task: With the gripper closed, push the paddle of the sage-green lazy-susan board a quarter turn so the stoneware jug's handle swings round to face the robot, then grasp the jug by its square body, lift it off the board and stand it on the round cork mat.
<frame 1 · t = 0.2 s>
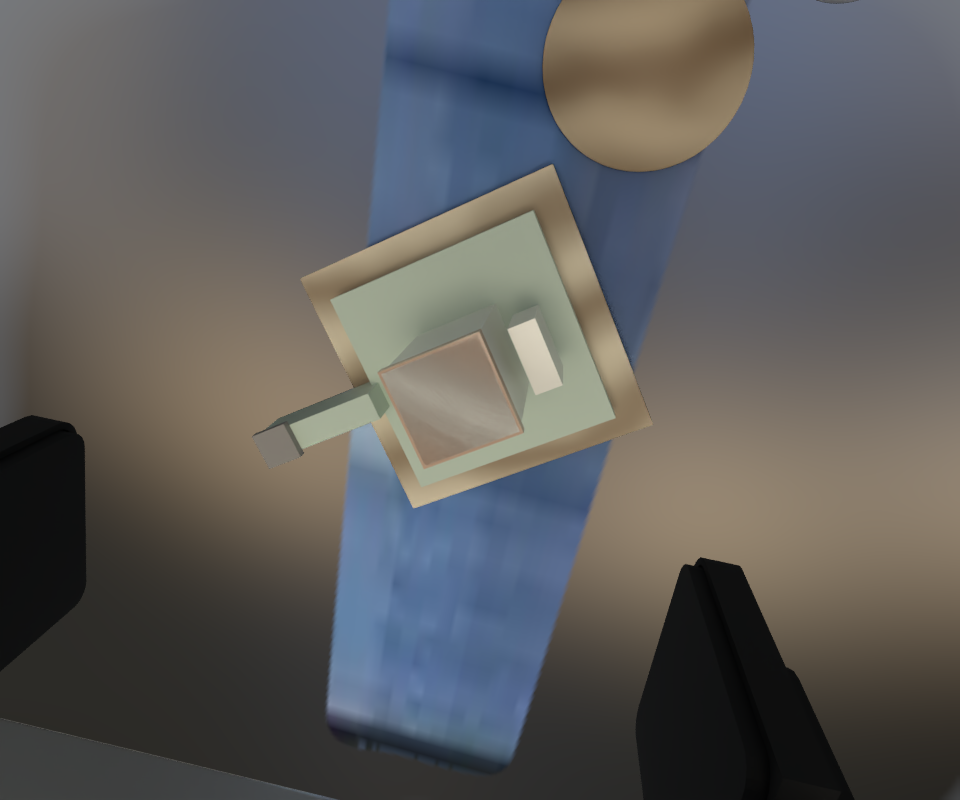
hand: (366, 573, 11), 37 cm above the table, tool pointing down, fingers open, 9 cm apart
turntable: (415, 384, 45), point 4 cm above the table, hinge at 0.0°, touching jug
jug: (473, 359, 45), point 3 cm above the table, touching turntable
mat: (645, 64, 41), on the table
stand: (479, 347, 48), on the table
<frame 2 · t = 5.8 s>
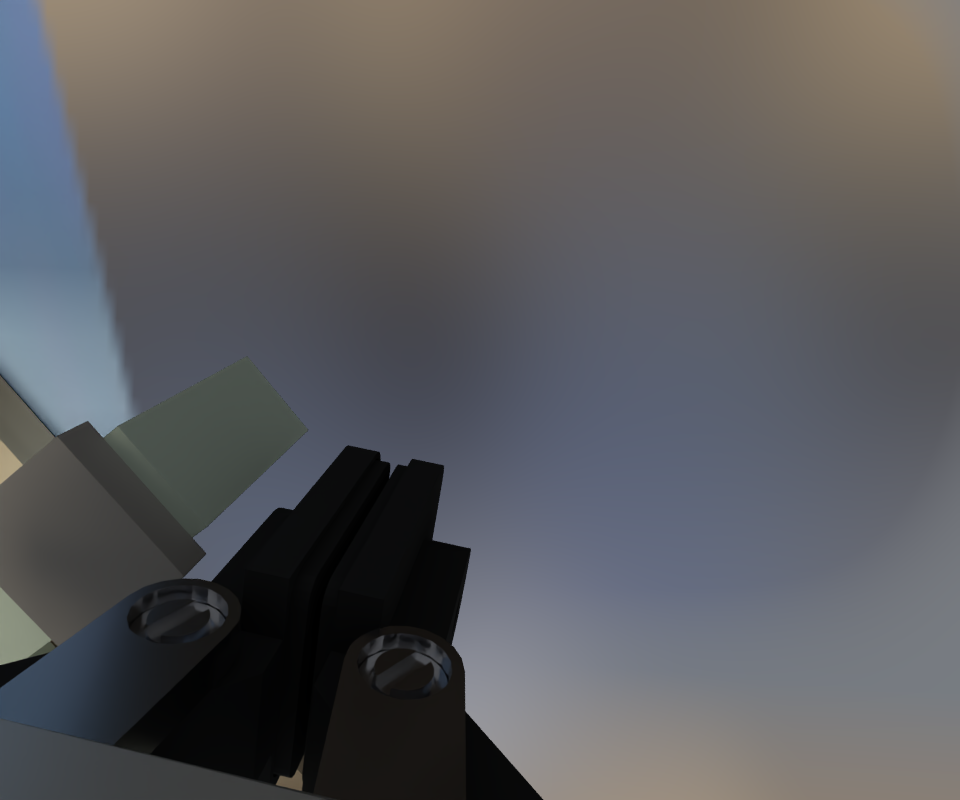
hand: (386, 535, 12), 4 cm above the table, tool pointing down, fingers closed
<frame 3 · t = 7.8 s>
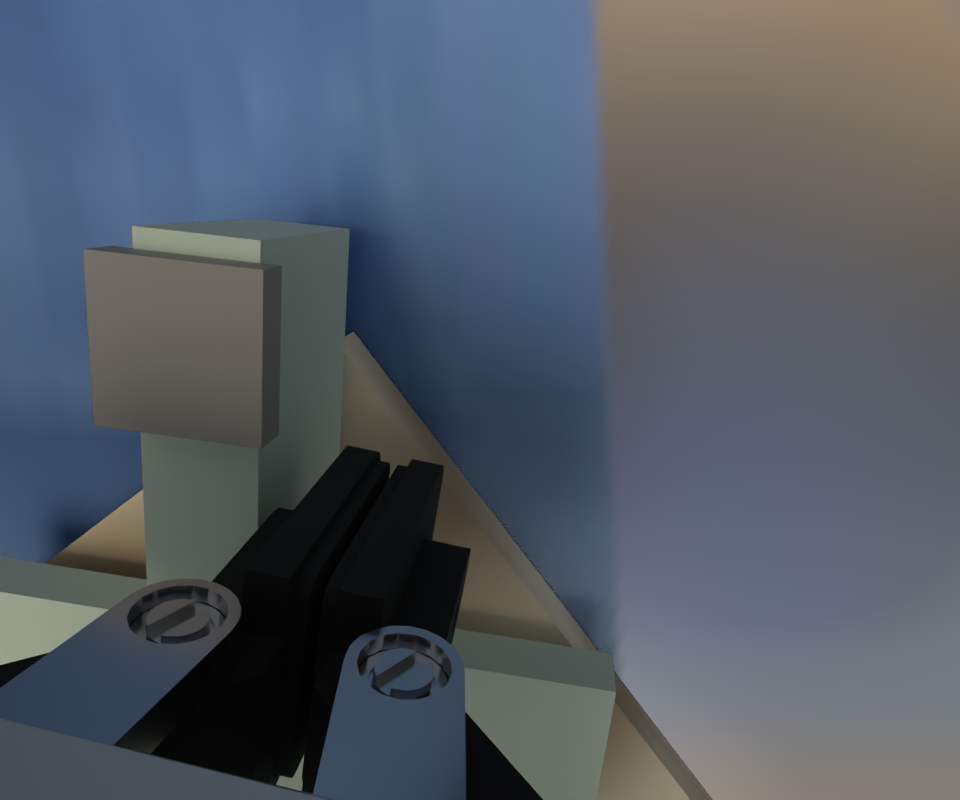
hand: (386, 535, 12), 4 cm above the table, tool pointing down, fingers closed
turntable: (247, 786, 14), point 4 cm above the table, hinge at 47.8°, touching gripper, jug
stand: (309, 788, 19), on the table
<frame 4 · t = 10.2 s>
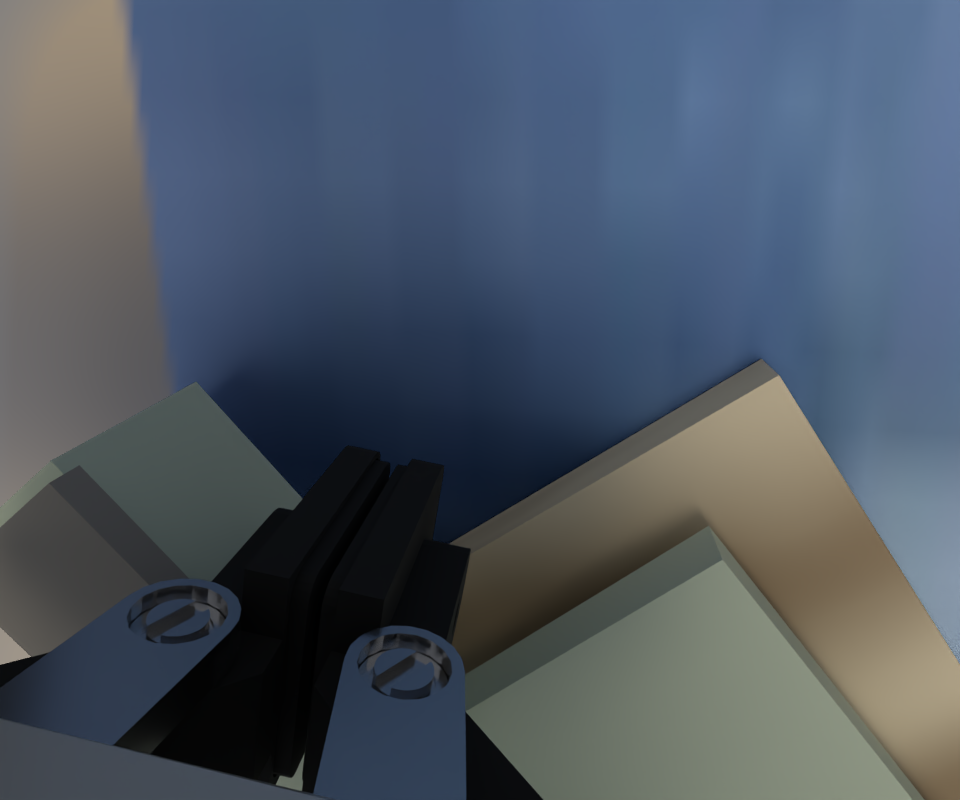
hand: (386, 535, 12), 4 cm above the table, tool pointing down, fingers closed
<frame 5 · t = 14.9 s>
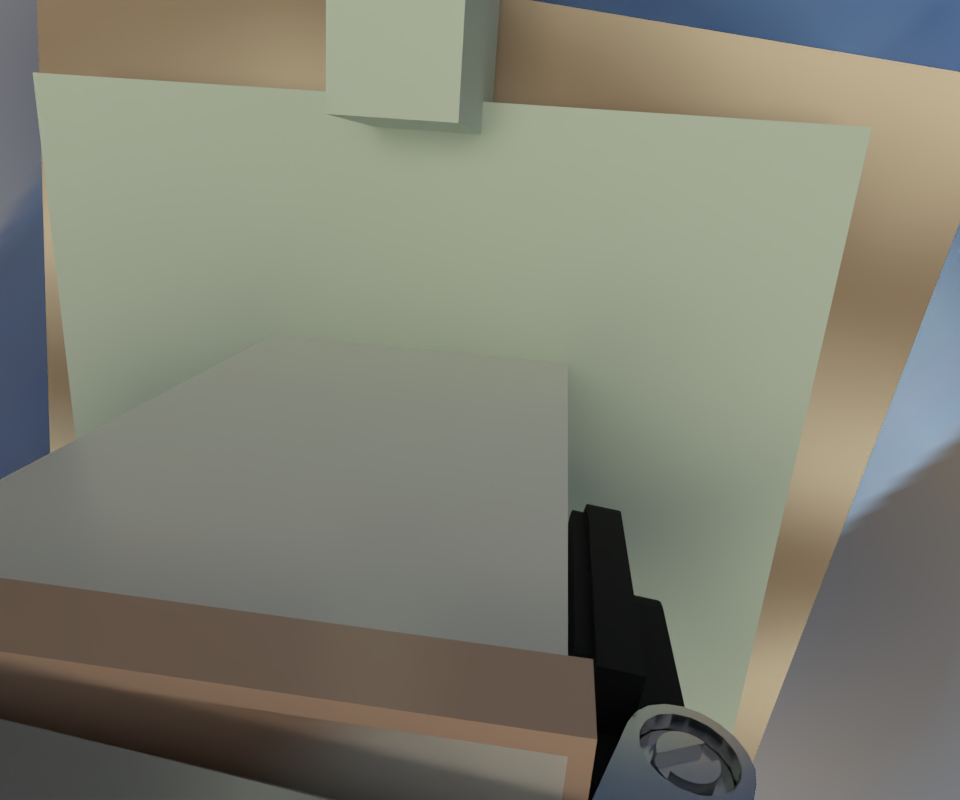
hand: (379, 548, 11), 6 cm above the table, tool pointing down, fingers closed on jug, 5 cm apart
turntable: (411, 287, 12), point 4 cm above the table, hinge at 95.8°, touching jug
jug: (411, 485, 14), point 3 cm above the table, touching gripper, turntable
stand: (439, 430, 17), on the table
when the fingers open (4 cm above the table, at t = 21.3 s): jug drops 1 cm, resting on mat.
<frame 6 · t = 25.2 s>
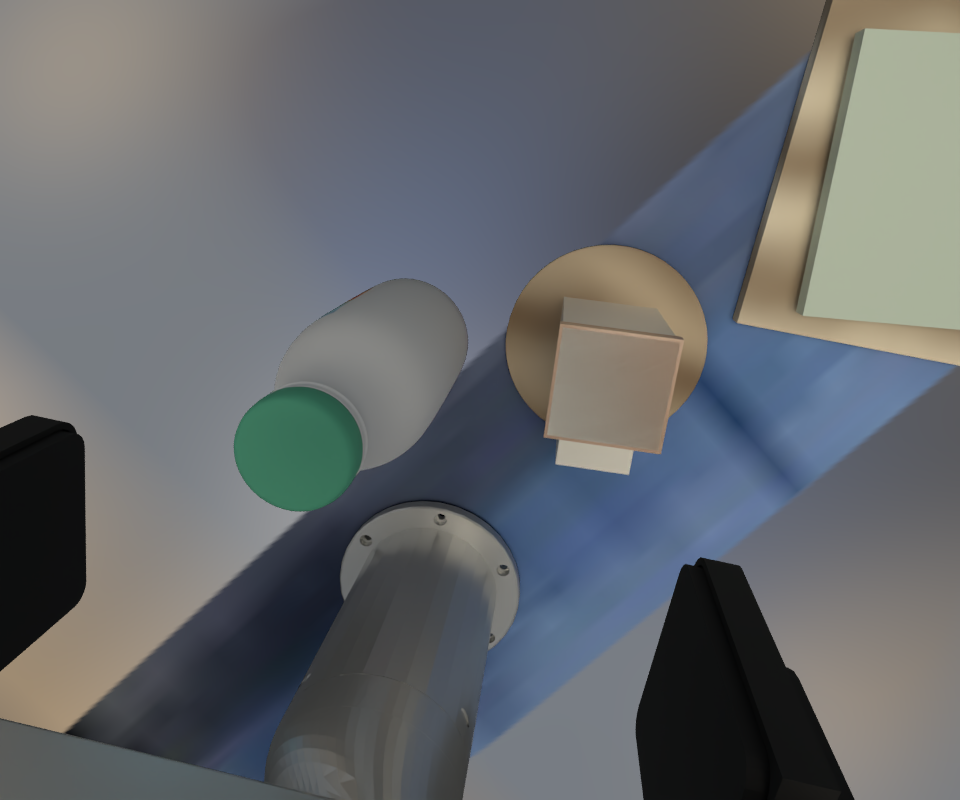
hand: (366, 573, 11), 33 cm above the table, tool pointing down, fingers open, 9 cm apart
jug: (602, 347, 42), point 1 cm above the table, touching mat
mat: (604, 344, 43), on the table
milk bottle: (410, 337, 44), on the table
stand: (945, 190, 38), on the table
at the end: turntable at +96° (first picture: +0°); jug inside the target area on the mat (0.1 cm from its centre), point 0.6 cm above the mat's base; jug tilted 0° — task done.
